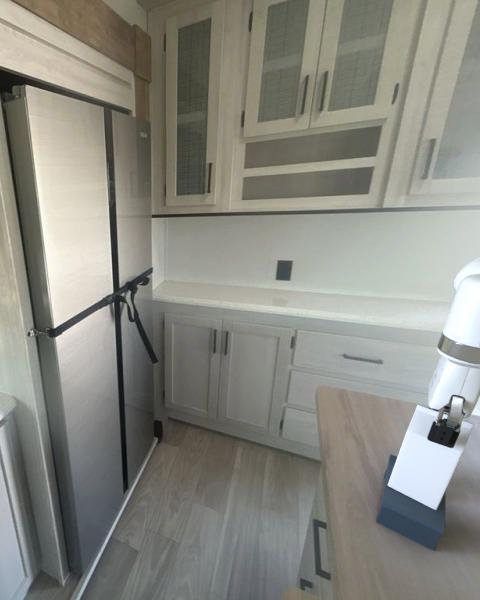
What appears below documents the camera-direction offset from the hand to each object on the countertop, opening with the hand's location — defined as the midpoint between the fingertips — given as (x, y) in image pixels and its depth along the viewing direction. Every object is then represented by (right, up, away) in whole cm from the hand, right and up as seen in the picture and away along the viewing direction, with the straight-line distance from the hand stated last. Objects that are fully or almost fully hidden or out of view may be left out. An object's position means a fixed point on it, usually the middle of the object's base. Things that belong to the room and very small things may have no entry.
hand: (440, 427), depth 61 cm
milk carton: (+1, -15, +6) cm, 16 cm away
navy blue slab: (+2, -20, +8) cm, 22 cm away
